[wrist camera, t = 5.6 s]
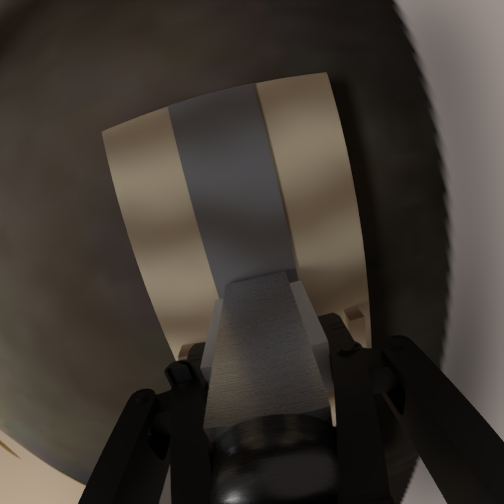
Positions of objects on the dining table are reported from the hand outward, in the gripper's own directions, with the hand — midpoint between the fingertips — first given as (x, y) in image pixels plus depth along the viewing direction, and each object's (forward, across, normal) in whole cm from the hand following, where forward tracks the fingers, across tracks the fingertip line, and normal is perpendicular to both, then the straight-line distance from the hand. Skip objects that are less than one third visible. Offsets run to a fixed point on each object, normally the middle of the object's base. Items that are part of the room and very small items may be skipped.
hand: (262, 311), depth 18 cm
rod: (+1, 0, -4) cm, 4 cm away
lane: (+3, 0, -6) cm, 7 cm away
